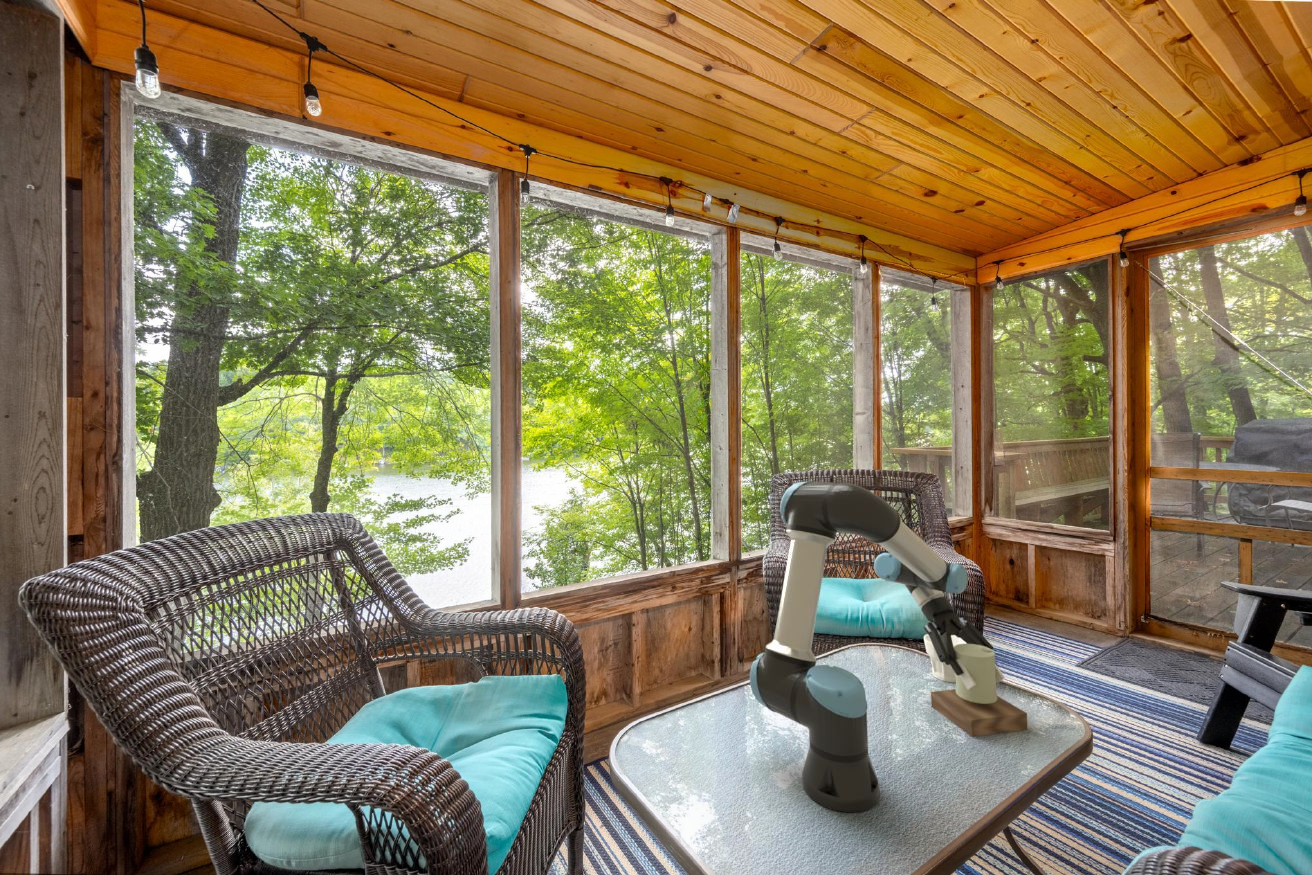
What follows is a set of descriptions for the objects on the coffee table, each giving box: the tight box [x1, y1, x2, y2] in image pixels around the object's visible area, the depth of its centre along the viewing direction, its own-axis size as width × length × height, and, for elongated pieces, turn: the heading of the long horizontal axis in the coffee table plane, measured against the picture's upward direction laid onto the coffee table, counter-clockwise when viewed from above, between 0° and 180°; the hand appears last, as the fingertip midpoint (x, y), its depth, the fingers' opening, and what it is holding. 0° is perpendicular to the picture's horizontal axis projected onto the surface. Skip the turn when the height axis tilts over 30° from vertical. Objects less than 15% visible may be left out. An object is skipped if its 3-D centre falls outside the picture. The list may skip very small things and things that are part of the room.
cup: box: [923, 633, 967, 683], centre depth 161 cm, size 12×12×11 cm
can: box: [954, 644, 998, 704], centre depth 137 cm, size 9×9×12 cm
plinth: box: [930, 688, 1029, 738], centre depth 137 cm, size 15×15×4 cm
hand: (986, 683), depth 134 cm, fingers closed on can, 9 cm apart
